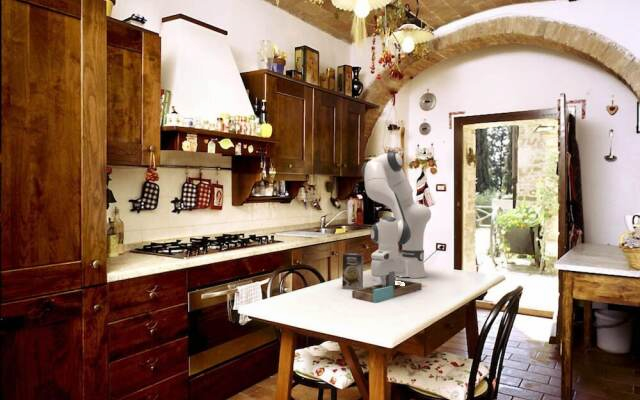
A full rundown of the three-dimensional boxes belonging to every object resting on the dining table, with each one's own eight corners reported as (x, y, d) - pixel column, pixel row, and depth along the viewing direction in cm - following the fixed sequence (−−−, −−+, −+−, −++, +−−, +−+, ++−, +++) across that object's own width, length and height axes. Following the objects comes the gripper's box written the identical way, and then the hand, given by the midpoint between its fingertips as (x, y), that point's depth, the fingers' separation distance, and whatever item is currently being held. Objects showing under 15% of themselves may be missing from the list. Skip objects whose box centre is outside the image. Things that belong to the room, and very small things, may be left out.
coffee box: (341, 288, 214) (342, 254, 214) (344, 285, 220) (344, 252, 220) (361, 289, 212) (361, 255, 211) (363, 286, 218) (363, 253, 218)
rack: (352, 297, 196) (352, 286, 196) (399, 285, 221) (399, 275, 221) (375, 302, 187) (375, 290, 187) (421, 289, 212) (421, 279, 212)
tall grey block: (381, 293, 204) (382, 271, 204) (387, 292, 207) (387, 270, 207) (389, 295, 201) (389, 272, 201) (394, 293, 204) (394, 271, 204)
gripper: (396, 250, 213) (395, 280, 214) (368, 254, 199) (368, 286, 199) (407, 251, 209) (407, 282, 209) (380, 256, 194) (380, 288, 195)
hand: (388, 284), depth 204 cm, fingers closed on tall grey block, 4 cm apart
